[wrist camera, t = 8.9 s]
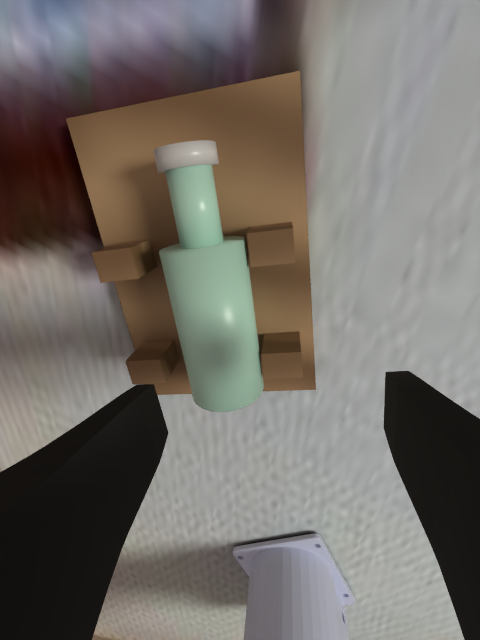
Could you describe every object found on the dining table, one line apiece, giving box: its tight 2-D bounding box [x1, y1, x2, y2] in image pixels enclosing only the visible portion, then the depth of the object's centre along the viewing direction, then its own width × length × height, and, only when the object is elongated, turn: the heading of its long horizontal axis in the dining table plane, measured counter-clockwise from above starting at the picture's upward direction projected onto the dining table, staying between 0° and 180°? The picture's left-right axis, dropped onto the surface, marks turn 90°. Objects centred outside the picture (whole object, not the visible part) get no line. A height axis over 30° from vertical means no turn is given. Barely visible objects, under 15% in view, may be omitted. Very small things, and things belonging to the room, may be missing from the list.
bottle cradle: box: [66, 71, 316, 395], centre depth 16 cm, size 16×11×3 cm
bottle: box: [153, 140, 264, 412], centre depth 15 cm, size 12×4×4 cm
